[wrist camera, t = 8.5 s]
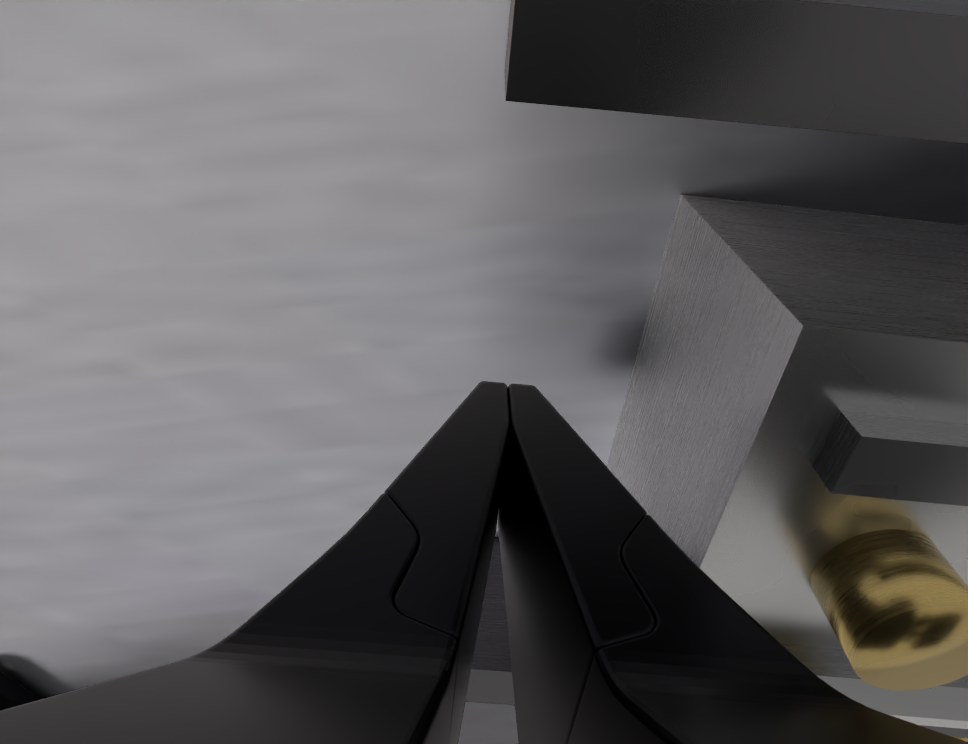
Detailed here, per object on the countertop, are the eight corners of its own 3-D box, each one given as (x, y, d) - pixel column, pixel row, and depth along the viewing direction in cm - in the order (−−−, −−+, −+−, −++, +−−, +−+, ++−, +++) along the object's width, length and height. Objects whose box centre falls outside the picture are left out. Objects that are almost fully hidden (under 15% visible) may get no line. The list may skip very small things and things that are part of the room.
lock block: (598, 484, 12) (658, 779, 8) (678, 190, 9) (861, 386, 4) (930, 515, 13) (1185, 821, 8) (1118, 239, 9) (1730, 475, 5)
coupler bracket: (460, 567, 13) (450, 700, 11) (512, -17, 8) (518, -28, 5) (1079, 615, 14) (1212, 755, 11) (1578, 87, 8) (2087, 126, 5)
